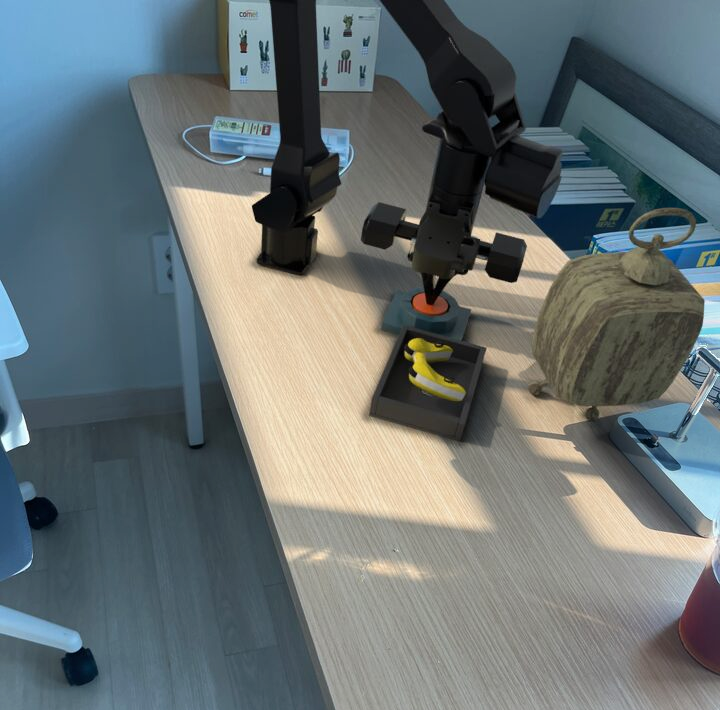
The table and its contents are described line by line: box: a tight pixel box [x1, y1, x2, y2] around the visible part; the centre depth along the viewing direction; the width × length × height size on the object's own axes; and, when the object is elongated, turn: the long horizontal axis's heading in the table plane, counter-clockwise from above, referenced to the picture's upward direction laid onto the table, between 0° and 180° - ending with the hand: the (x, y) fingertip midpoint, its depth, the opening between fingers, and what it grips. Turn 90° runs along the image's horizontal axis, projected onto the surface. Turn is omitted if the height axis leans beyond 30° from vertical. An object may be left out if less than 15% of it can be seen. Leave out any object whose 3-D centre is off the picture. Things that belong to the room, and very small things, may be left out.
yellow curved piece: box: [404, 338, 466, 401], centre depth 86 cm, size 10×6×4 cm, turn 2°
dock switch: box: [380, 286, 472, 341], centre depth 95 cm, size 10×8×3 cm
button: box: [412, 293, 448, 316], centre depth 95 cm, size 4×4×2 cm
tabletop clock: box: [528, 207, 706, 422], centre depth 80 cm, size 14×9×25 cm, turn 102°
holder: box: [368, 325, 488, 443], centre depth 87 cm, size 10×14×3 cm
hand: (430, 302), depth 94 cm, fingers closed, pressing on button
